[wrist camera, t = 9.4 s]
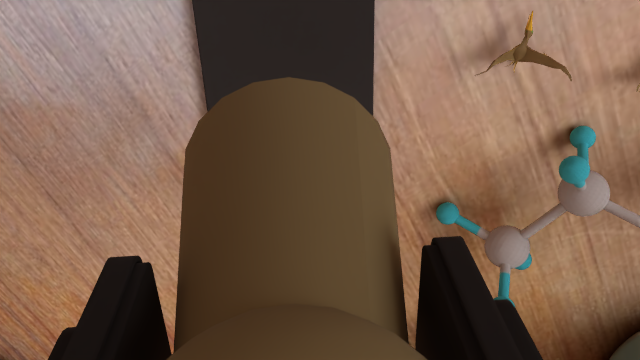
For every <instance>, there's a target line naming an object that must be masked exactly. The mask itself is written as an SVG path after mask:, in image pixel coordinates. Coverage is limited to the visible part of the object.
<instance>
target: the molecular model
mask: <svg viewBox="0 0 640 360" xmlns="http://www.w3.org/2000/svg"><path fill="white" fill-rule="evenodd" d="M595 140H596V135H595V132H594V131H593V129H591V128H590V127H588V126H579V127H576V128H575V129H574V130H573V131H572V132H571V134H570V142H571V144H572V145H573V146H574V147H575V148H577V156H570V157H567V158H565V159H564V160H563V161H562V162H561V164H560V166H559V174H560V176H561V178H562V180H561V182H560V184H559V187H558V198H559V201H560V203H559V204H558V205H557V206H555V207H554V208H552V209H551V210H550V211H548V212H547V213H545V214H544V215H543V216H541V217H540V218H538V219H537V220H536V221H534V222H533V223H531V224H530V225H529V226H527V227H526V228H525V229H523V230H522V231H521V230H520V229H518V228H516V227H513V226H500V227H497V228H495V229H494V230H492V231H491V232H489V231H487V230H485V229H484V228H482V227H480V226H478V225H476V224H475V223H473V222H471V221H469V220H468V219H466V218H464V217H462V216H461V215H459V210H458V208H457V207H456V206H455V205H454V204H452V203H449V202H446V203H443V204H441V205H440V206H439V207H438V208H437V211H436V216H437V218H438V220H439V221H440V222H441V223H443V224H446V225H449V224H453V223H456V224H458V225H460V226H461V227H463V228H465V229H467V230H468V231H470V232H472V233H474V234H475V235H477V236H479V237H481V238H482V239H484V240H486V241H485V252H486V255H487V257H488V259H489V260H490V261H491V262H492V263H493V264H494V265H496V266H498V267H500V278H499V291H498V297H496V298H494V299H493V300H502V299H508V300H509V301H511V302H512V300H510V299H509V298H508V297H509V283H510V269H512V268H516V269H519V270H524V269H526V268H528V267H529V266H530V265H531V262H532V257H531V255H530V244H529V240H528V238H529V237H531V236H532V235H533V234H535V233H536V232H538V231H539V230H541V229H542V228H543V227H545V226H546V225H548V224H549V223H551V222H552V221H553V220H555V219H556V218H558V217H559V216H560V215H562V214H563V213H565V212H566V211H568V212H570V213H572V214H574V215H577V216H591V215H594V214H597V213H599V212H600V211H601V210H603V209H604V210H606V211H608V212H610V213H612V214H614V215H616V216H618V217H620V218H622V219H624V220H626V221H627V222H629V223H631V224H633V225H635V226H637V227H639V228H640V216H639V215H637V214H635V213H634V212H632V211H630V210H628V209H626V208H624V207H622V206H620V205H618V204H616V203H614V202H612V201H610V200H609V198H610V188H609V185H608V183H607V181H606V180H605V178H604V177H603V176H601V175H600V174H599V173H597V172H595V171H592V170H590V166H589V160H588V148H589V147H591V146H592V145H593V144H594V142H595ZM512 304H513V305H514V303H513V302H512ZM514 307H515V305H514Z"/></svg>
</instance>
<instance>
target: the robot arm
mask: <svg viewBox="0 0 640 360" xmlns="http://www.w3.org/2000/svg"><path fill="white" fill-rule="evenodd" d="M416 351H418V352H419V353H420V354H421V355H423V356H424V357H425V358H426V359H428V360H543V359H542V357H541V355H540V353H539V351H538V349H537V348H536V346H535V344H534V342H533V340H532V338H531V336H530V334H529V333H528V331H527V329H526V327H525V325H524V323H523V321H522V320H521V318H520V316H519V314H518V312H517V310H516V308H515V307H514V305H513V304H512V302H511V301H509V300H508V299H502V300H493V298H492V296H491V294H490V292H489V290H488V288H487V286H486V284H485V281H484V279H483V277H482V275H481V273H480V271H479V269H478V267H477V265H476V263H475V261H474V259H473V257H472V255H471V253H470V251H469V249H468V247H467V245H466V243H465V241H464V239H463V238H462V237H461V236H455V237H439V238H433V239H432V242H431V245H425V246H423V248H422V257H421V272H420V286H419V300H418V314H417V329H416ZM171 355H172V354H171V350H170V345H169V341H168V336H167V332H166V327H165V323H164V318H163V314H162V309H161V305H160V300H159V296H158V291H157V287H156V282H155V278H154V273H153V269H152V266H151V264H150V263H149V262H147V263H142V260H141V258H140V257H139V256H125V257H110V258H108V260H107V261H106V263H105V265H104V267H103V270H102V272H101V274H100V276H99V278H98V281H97V283H96V285H95V287H94V289H93V292H92V294H91V296H90V298H89V300H88V302H87V305H86V307H85V309H84V311H83V313H82V316H81V318H80V320H79V322H78V324H77V326H76V327H70V328H66V329H65V330H63V331H62V333H61V335H60V336H59V338H58V340H57V342H56V344H55V346H54V348H53V350H52V352H51V354H50V356H49V358H48V360H166V359H167V358H169V357H170V356H171Z"/></svg>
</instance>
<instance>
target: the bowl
mask: <svg viewBox="0 0 640 360" xmlns="http://www.w3.org/2000/svg"><path fill="white" fill-rule="evenodd" d="M610 360H640V331H639V332H637V333H636V334H634V335H633V336H631V337H630V338H629V339H627V340H626V341H625V342H624V343H623V344H622V345H621V346H620V347H619V348H618V349H617V350H616V351H615V352H614V354H613V355H612V356H611V358H610Z"/></svg>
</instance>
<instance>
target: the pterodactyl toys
mask: <svg viewBox="0 0 640 360" xmlns="http://www.w3.org/2000/svg"><path fill="white" fill-rule="evenodd" d="M532 17H533V11H532V14H531V16H530V15H529V18H528V22H527V26H526V29H525V37H524V39H523V41H522V43H521V44H519V45H518V46H516V47H515V48H513V49H512V50H510V51H508V52H506V53H504V54H502V55H501V56H500V57H498V58H497V59H496V60H494V61H493V62H492V64H491V65H490V66H489V68H488V69H487V70H486V71H485V72H487V71H488V70H489V69H490V68H491V67H492V66H494V65H496V64H499V63H501V62H504V61H506V60H511V61H513V62H514V63H513V62H512V63H513V64H515V63H516V64H517V62H534V63H538V64H542V65H545V66H548V67H551V68H556V69H561V70H562V71H563V72H564V73H565V74H567V75H568V76H569V78H570V81H572V79H571V75H570V74H569V72H568V70H567V69H566V67H565V66H563V65H562V64H560V63H558V62H556V61H555V60H553V59H552V58H551V57H549V56H547V54H545V53H544V54H542V53H539V52H537V51H534V50H532V49H531V48H529V47H528V46H527V43H528V40H529V38H530V37H531V36H532V34H533V30H532ZM512 63H511V64H512ZM516 64H515V66H516ZM505 67H506V66H505ZM514 69H515V67H514ZM513 71H514V70H513ZM482 73H484V72H482ZM514 73H515V72H514ZM480 74H481V73H480ZM477 75H478V74H477ZM475 76H476V75H475ZM639 87H640V84H639V85H638V87H637V91H638V88H639ZM637 91H636V92H637ZM639 92H640V91H639Z"/></svg>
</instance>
